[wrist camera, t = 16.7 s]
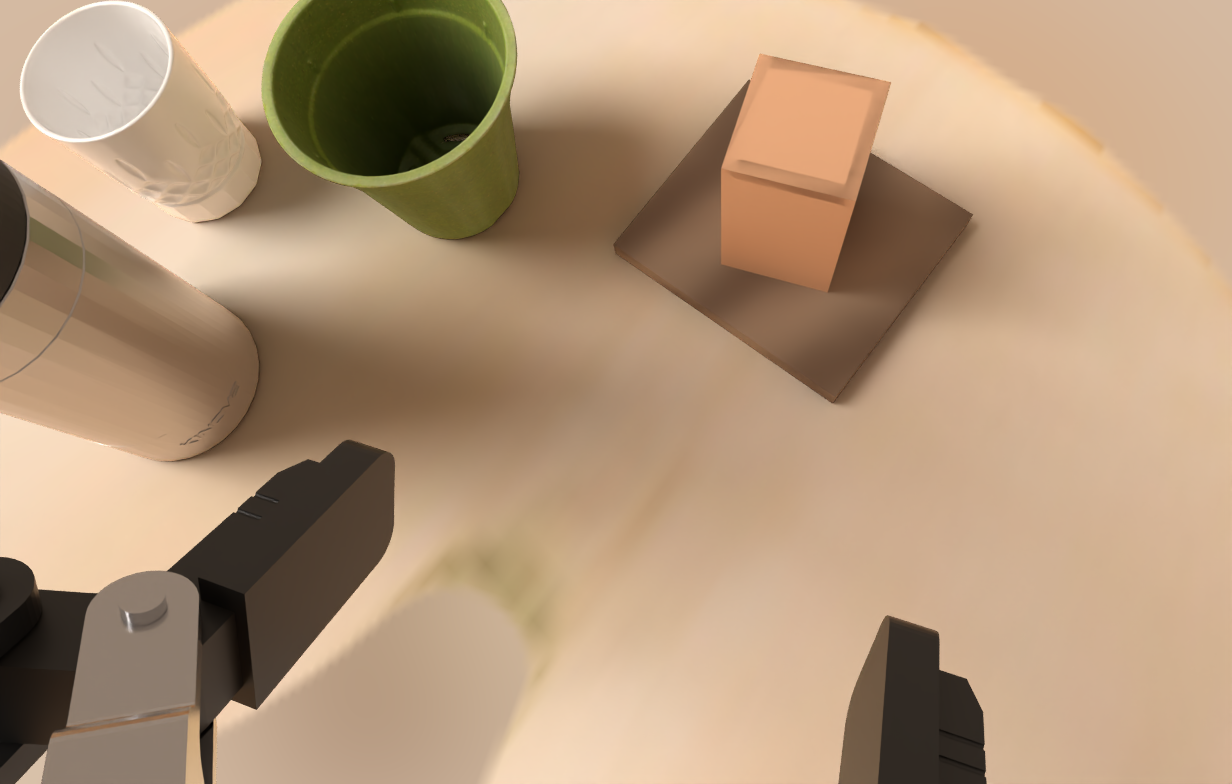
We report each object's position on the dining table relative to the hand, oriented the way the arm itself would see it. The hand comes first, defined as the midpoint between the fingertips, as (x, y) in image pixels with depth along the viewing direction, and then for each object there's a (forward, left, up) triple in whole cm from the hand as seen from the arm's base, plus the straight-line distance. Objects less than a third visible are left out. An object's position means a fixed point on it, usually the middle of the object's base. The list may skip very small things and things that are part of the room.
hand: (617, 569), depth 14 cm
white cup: (-38, +3, -31) cm, 49 cm away
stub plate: (-8, +19, -31) cm, 37 cm away
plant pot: (-25, +11, -31) cm, 41 cm away
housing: (-8, +19, -29) cm, 36 cm away
